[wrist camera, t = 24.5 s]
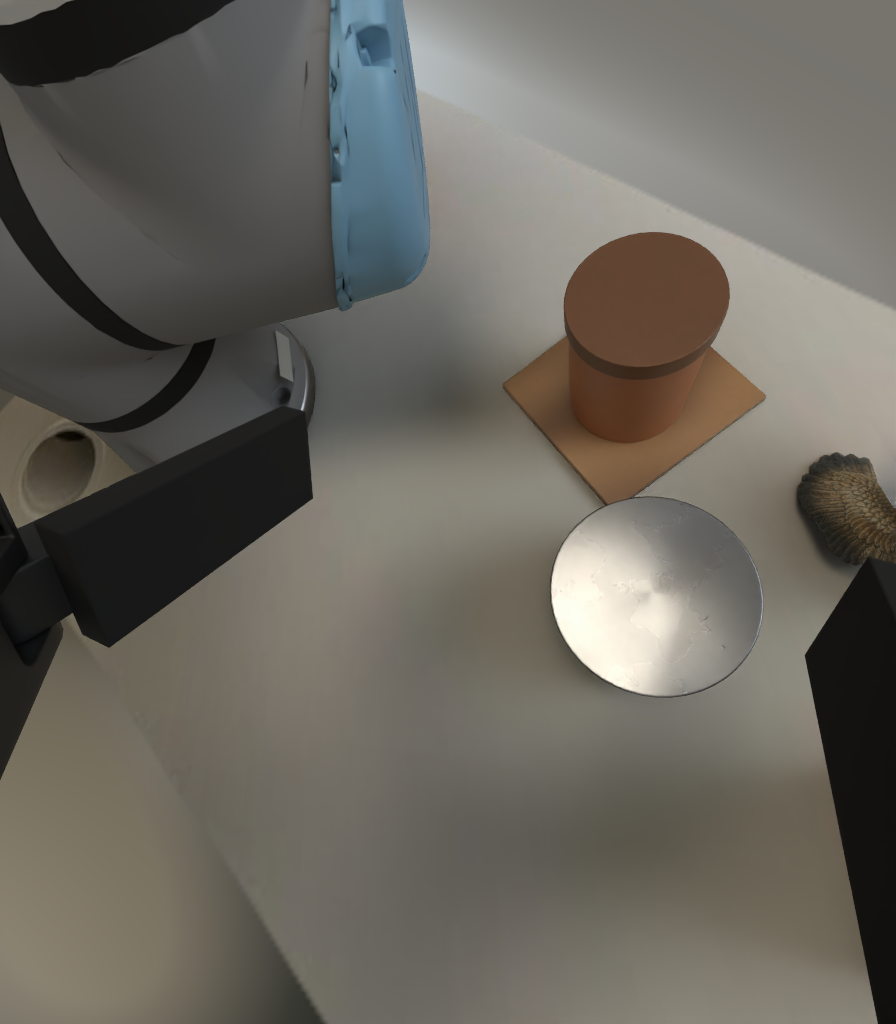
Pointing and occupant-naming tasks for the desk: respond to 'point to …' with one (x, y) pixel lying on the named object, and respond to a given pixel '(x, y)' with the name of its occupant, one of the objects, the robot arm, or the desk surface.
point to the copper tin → (640, 331)
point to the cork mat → (633, 464)
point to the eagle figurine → (850, 508)
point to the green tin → (656, 597)
